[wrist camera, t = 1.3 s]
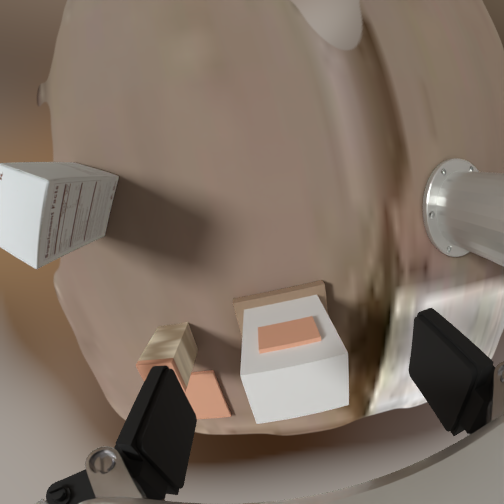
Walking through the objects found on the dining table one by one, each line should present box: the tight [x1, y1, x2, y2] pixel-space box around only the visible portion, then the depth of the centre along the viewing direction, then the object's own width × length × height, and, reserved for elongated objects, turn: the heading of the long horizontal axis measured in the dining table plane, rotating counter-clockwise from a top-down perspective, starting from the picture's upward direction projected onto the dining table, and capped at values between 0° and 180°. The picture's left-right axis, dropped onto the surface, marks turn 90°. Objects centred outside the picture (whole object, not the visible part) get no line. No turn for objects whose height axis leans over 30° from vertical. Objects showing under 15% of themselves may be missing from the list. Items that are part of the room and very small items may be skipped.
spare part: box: [136, 322, 198, 393], centre depth 28 cm, size 4×4×8 cm
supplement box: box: [0, 162, 119, 269], centre depth 21 cm, size 7×7×13 cm
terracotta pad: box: [185, 370, 231, 419], centre depth 34 cm, size 10×9×1 cm
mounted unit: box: [233, 280, 349, 424], centre depth 25 cm, size 10×8×12 cm
